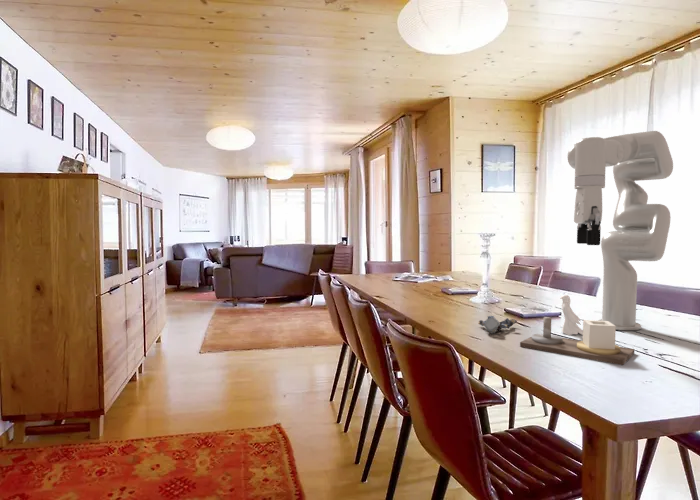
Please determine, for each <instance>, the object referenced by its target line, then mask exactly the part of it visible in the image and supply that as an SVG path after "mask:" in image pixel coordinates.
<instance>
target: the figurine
mask: <svg viewBox="0 0 700 500" xmlns="http://www.w3.org/2000/svg"><path fill="white" fill-rule="evenodd" d="M560 299H561V300H562V303H561V309H562V313H563V316H564V321H563V324H562V329H561V332H562V333H564V334H565V335H568V336H572V335H578V333H579V334H580V335H582V336H583V328H581V327H579V325H581V319H580V318H579V316H578V315H577V314H576V313H575V312H574V311H573V309H572V307H571V298H570V296H569V295H568V294H563V295H561V296H560Z"/></svg>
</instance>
